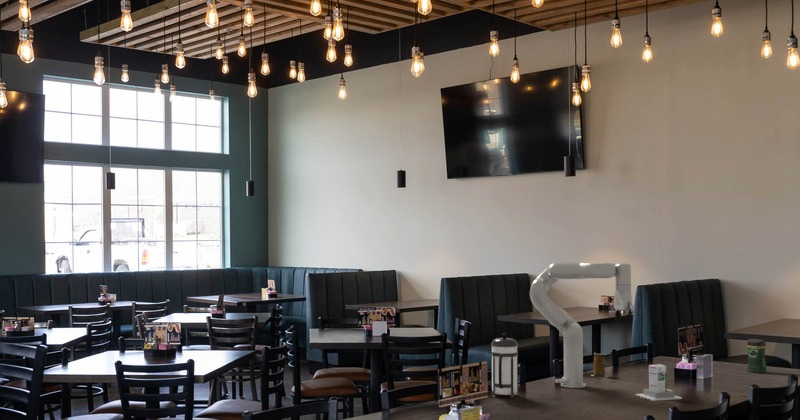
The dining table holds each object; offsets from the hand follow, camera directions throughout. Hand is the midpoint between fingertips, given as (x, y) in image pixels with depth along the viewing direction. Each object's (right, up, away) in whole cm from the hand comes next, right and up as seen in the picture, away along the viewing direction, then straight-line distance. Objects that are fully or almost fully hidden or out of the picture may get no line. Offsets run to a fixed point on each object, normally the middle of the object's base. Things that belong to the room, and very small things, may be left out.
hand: (623, 321), depth 414 cm
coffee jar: (+89, -36, +49) cm, 108 cm away
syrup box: (+9, -32, -25) cm, 42 cm away
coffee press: (-63, -33, -24) cm, 75 cm away
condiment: (-4, -35, +34) cm, 49 cm away
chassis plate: (+10, -32, -26) cm, 42 cm away
